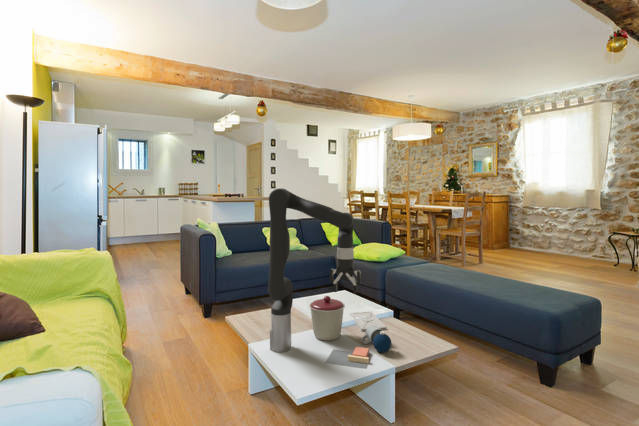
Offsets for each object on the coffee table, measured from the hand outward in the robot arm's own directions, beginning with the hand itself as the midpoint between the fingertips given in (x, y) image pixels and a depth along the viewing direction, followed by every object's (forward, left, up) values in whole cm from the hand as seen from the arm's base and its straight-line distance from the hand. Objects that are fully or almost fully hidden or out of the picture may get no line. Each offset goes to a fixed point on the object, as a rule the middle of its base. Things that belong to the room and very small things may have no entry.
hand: (345, 292), depth 166 cm
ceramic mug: (+10, +15, -28) cm, 34 cm away
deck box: (+8, -6, -27) cm, 28 cm away
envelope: (+3, +41, -29) cm, 50 cm away
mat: (+3, -6, -28) cm, 29 cm away
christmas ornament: (+16, +6, -28) cm, 33 cm away
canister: (-13, +15, -28) cm, 35 cm away
